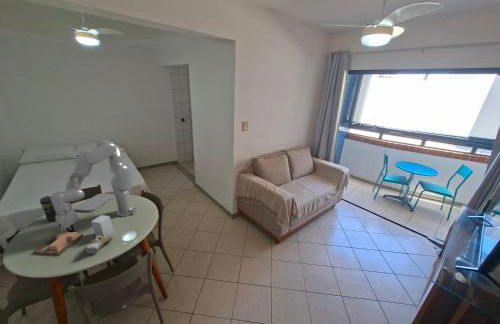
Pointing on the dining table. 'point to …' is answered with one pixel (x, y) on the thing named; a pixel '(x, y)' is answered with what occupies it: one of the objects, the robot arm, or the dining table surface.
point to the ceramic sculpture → (96, 244)
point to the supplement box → (102, 226)
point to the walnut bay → (39, 251)
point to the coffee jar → (48, 208)
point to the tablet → (94, 202)
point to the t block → (62, 240)
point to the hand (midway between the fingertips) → (72, 233)
